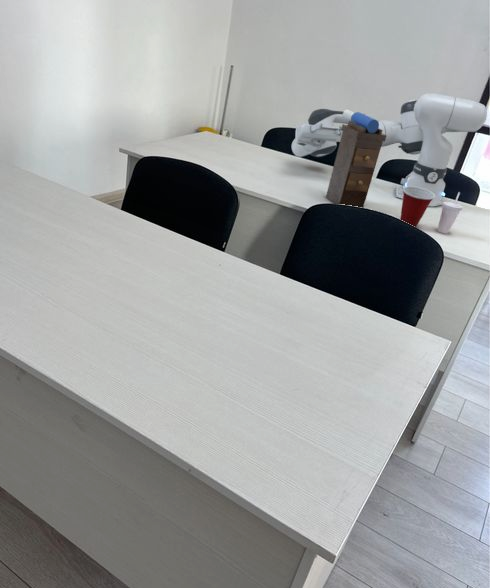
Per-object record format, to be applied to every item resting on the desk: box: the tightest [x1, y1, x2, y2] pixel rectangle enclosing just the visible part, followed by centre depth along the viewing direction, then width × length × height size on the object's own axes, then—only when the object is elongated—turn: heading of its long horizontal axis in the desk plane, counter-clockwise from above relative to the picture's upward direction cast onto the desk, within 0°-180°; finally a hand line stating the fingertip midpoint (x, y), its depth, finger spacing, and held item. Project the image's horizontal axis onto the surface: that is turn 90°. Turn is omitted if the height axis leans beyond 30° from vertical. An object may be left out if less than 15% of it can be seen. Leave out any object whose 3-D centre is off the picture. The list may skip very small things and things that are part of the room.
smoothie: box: [436, 191, 463, 235], centre depth 198 cm, size 6×6×14 cm
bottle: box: [343, 109, 379, 133], centre depth 204 cm, size 20×4×4 cm, turn 15°
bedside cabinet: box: [325, 121, 387, 208], centre depth 206 cm, size 14×11×28 cm
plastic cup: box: [399, 186, 435, 228], centre depth 199 cm, size 11×11×12 cm
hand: (332, 126), depth 222 cm, fingers open, 8 cm apart
